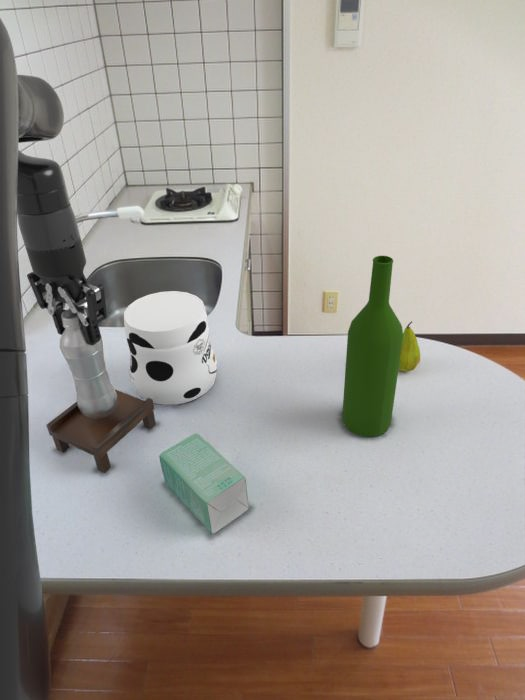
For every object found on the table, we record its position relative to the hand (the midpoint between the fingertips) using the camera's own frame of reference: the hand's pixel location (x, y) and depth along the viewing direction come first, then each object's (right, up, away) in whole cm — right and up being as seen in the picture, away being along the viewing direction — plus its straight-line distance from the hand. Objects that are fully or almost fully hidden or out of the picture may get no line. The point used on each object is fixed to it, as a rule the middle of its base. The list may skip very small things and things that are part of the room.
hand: (79, 337), depth 84 cm
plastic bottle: (+1, -13, +9) cm, 16 cm away
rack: (+1, -18, +13) cm, 22 cm away
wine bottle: (+48, -15, +14) cm, 53 cm away
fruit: (+59, -6, +27) cm, 65 cm away
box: (+20, -26, +1) cm, 33 cm away
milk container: (+12, -10, +24) cm, 29 cm away
